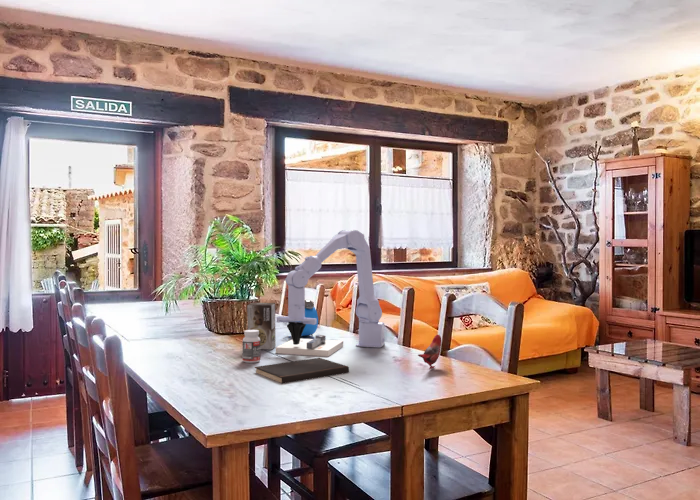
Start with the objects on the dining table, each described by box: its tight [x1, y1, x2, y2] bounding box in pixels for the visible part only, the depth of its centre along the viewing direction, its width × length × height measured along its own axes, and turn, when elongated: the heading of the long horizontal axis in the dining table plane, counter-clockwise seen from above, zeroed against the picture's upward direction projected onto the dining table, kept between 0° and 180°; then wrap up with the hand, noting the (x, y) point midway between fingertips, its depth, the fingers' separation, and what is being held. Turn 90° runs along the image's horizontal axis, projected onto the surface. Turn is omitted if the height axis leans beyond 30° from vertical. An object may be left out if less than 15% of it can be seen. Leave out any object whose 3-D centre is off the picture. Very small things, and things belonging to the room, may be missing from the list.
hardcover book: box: [254, 357, 350, 385], centre depth 174 cm, size 16×23×2 cm
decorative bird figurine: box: [417, 334, 442, 370], centre depth 177 cm, size 3×18×10 cm, turn 149°
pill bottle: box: [241, 329, 261, 364], centre depth 188 cm, size 6×6×10 cm
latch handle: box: [307, 334, 327, 349], centre depth 205 cm, size 15×4×2 cm, turn 165°
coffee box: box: [246, 302, 277, 350], centre depth 211 cm, size 9×6×16 cm
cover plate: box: [275, 338, 344, 357], centre depth 208 cm, size 19×19×2 cm
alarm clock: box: [294, 299, 319, 338], centre depth 237 cm, size 13×6×15 cm, turn 38°
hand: (296, 344), depth 203 cm, fingers closed
